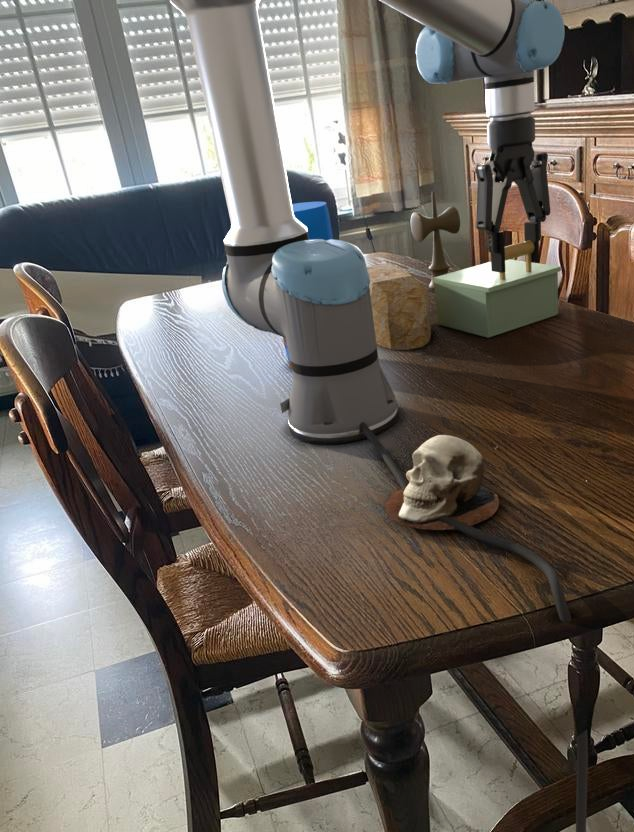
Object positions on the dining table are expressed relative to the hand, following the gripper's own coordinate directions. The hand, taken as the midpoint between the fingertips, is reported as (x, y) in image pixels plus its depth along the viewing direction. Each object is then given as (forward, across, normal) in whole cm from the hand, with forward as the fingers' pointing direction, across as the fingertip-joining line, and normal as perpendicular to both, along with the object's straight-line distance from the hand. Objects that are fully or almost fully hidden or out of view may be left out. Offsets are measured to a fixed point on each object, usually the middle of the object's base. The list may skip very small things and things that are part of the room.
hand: (515, 266), depth 129 cm
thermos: (+10, +34, -13) cm, 38 cm away
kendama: (+10, -9, -35) cm, 37 cm away
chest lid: (+2, 0, -5) cm, 6 cm away
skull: (+10, +50, +43) cm, 67 cm away
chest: (+10, 0, -6) cm, 12 cm away
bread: (+10, +14, -22) cm, 28 cm away
